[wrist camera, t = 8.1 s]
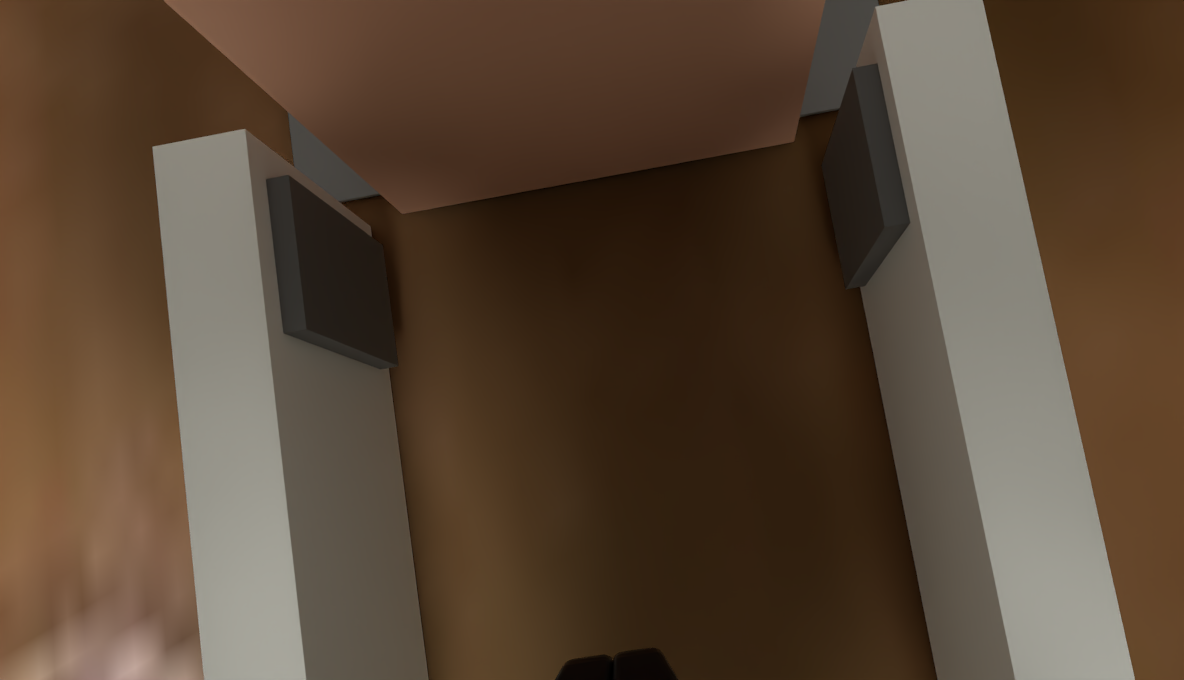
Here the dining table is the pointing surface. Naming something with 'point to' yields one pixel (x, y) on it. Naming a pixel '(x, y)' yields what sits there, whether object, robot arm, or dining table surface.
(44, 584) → the dining table surface
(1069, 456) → the chute
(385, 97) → the block
